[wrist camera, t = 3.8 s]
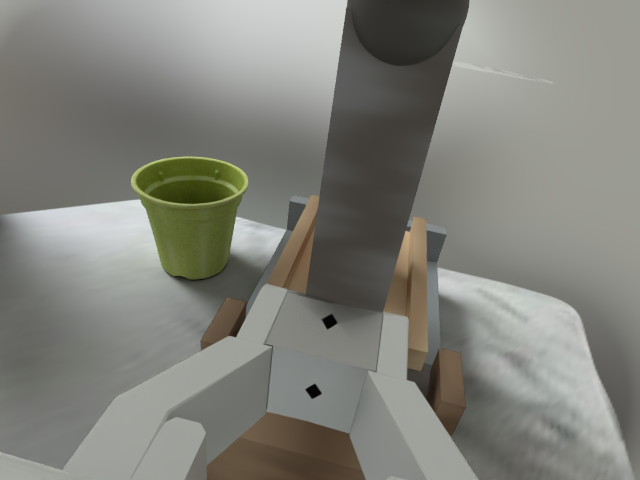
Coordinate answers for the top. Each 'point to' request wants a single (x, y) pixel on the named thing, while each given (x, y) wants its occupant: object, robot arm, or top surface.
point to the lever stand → (309, 438)
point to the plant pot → (191, 211)
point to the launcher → (378, 166)
